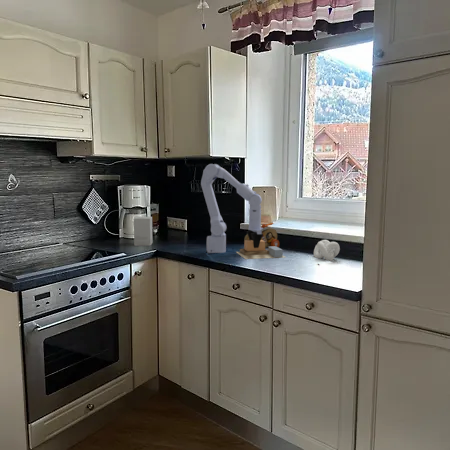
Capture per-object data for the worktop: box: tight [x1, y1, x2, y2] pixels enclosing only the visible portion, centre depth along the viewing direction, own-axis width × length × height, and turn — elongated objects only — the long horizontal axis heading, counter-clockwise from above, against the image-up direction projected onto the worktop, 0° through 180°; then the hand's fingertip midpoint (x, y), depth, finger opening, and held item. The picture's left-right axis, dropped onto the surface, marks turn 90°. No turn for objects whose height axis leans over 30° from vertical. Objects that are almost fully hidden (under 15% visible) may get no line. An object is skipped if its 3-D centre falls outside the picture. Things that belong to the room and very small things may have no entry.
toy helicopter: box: [244, 222, 280, 249], centre depth 224 cm, size 8×21×14 cm, turn 123°
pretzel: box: [313, 239, 341, 262], centre depth 199 cm, size 11×12×9 cm
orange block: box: [243, 240, 266, 251], centre depth 207 cm, size 9×5×4 cm, turn 104°
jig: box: [235, 248, 287, 260], centre depth 204 cm, size 20×17×2 cm
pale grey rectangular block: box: [267, 246, 284, 257], centre depth 203 cm, size 4×9×4 cm, turn 14°
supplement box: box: [133, 216, 153, 247], centre depth 231 cm, size 9×9×15 cm
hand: (254, 246), depth 207 cm, fingers closed on orange block, 5 cm apart
